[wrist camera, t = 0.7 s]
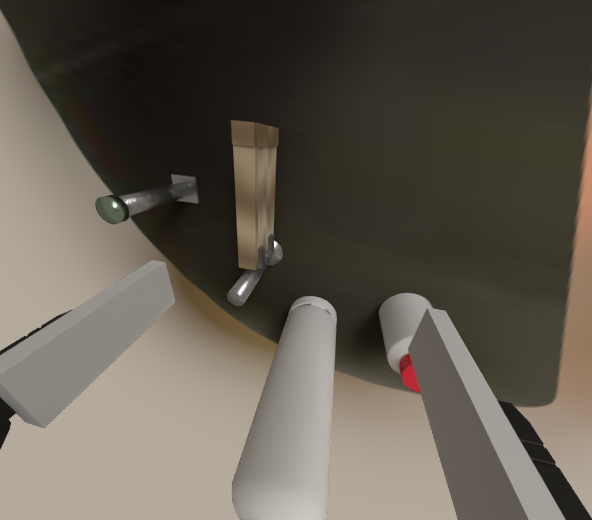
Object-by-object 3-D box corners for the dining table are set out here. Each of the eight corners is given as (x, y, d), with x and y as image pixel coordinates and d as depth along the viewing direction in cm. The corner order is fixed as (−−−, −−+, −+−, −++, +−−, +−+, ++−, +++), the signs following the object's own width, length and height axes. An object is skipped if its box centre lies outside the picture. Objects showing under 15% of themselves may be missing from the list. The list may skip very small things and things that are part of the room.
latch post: (173, 173, 31) (84, 189, 21) (197, 176, 31) (118, 194, 20) (178, 199, 33) (98, 226, 22) (200, 202, 32) (129, 231, 22)
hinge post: (255, 235, 33) (214, 277, 23) (284, 239, 33) (255, 284, 22) (255, 261, 35) (218, 310, 25) (282, 265, 35) (255, 317, 24)
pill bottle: (433, 330, 35) (467, 400, 25) (381, 333, 37) (394, 399, 28) (432, 289, 32) (469, 352, 22) (375, 295, 34) (387, 355, 24)
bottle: (284, 323, 40) (193, 598, 16) (296, 289, 36) (198, 586, 12) (327, 338, 40) (299, 642, 16) (343, 306, 36) (341, 645, 12)
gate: (276, 246, 32) (257, 274, 25) (261, 244, 33) (238, 271, 26) (281, 128, 25) (257, 122, 18) (262, 126, 26) (231, 120, 19)
